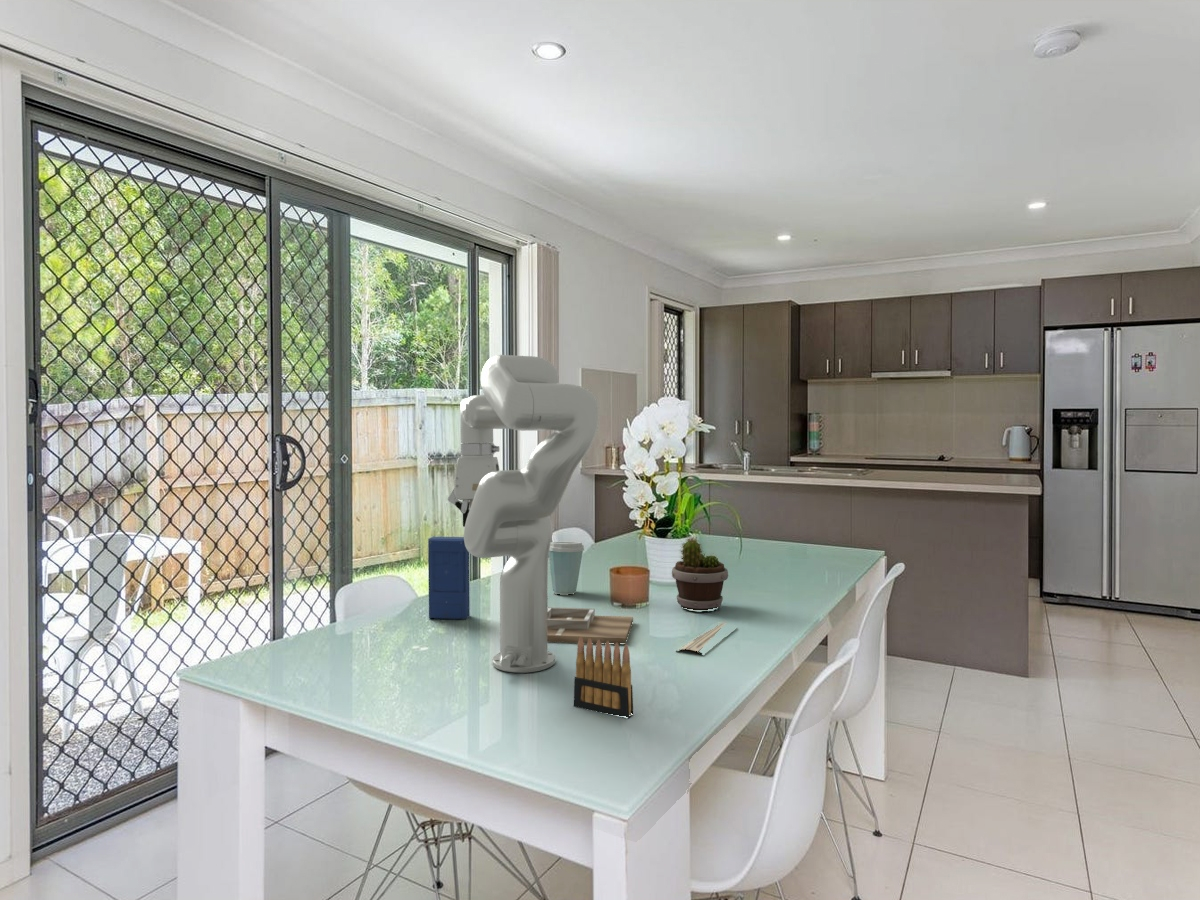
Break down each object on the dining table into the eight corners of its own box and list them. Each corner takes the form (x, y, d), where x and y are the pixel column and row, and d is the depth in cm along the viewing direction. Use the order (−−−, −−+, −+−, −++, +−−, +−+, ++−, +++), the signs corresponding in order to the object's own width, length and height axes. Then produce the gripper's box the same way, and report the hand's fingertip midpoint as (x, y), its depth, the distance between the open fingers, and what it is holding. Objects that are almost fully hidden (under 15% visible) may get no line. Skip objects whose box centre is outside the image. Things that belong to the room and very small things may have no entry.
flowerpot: (699, 598, 202) (699, 526, 201) (740, 609, 189) (740, 533, 189) (659, 606, 193) (659, 531, 192) (699, 618, 181) (700, 538, 180)
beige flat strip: (702, 659, 151) (702, 651, 151) (671, 655, 154) (671, 646, 154) (737, 631, 172) (737, 624, 172) (708, 627, 175) (708, 620, 175)
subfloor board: (625, 645, 159) (625, 629, 159) (527, 640, 162) (527, 625, 162) (632, 623, 177) (632, 608, 177) (544, 619, 180) (544, 605, 180)
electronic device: (470, 615, 184) (470, 536, 183) (464, 620, 179) (464, 539, 178) (434, 614, 185) (433, 536, 184) (427, 619, 180) (427, 539, 179)
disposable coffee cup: (543, 590, 212) (543, 539, 211) (578, 588, 215) (578, 537, 215) (551, 598, 202) (551, 544, 201) (589, 596, 205) (589, 543, 204)
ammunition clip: (633, 715, 120) (633, 643, 120) (628, 719, 119) (628, 646, 118) (579, 702, 126) (579, 634, 125) (573, 706, 124) (573, 636, 124)
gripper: (516, 450, 171) (516, 528, 172) (447, 451, 173) (447, 528, 173) (508, 451, 164) (509, 532, 164) (436, 451, 166) (437, 532, 166)
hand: (478, 529), depth 169 cm, fingers closed on handle, 4 cm apart
